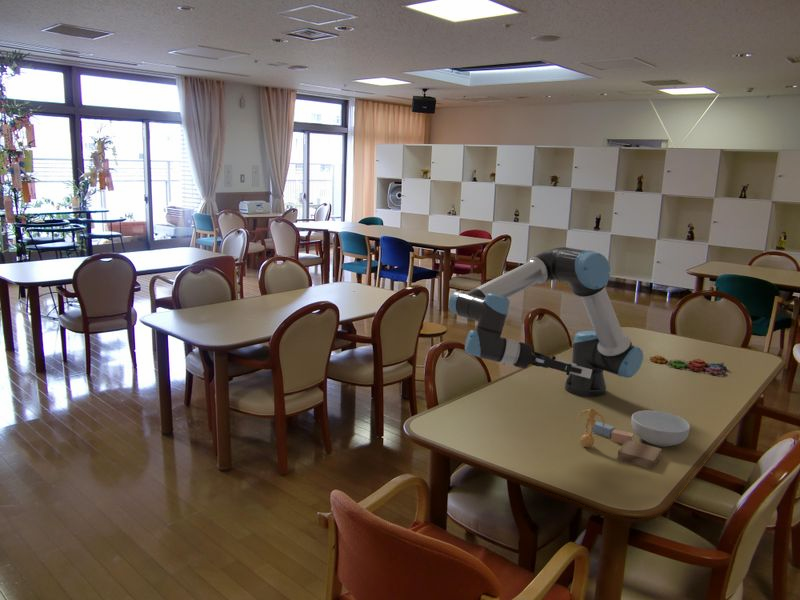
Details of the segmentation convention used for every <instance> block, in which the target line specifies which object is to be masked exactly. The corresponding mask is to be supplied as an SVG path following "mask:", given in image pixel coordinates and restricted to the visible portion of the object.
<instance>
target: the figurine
mask: <svg viewBox="0 0 800 600" xmlns="http://www.w3.org/2000/svg"><path fill="white" fill-rule="evenodd" d="M583 413H588V417H587V418H586V421H585V429H586V430H585V433H584V434H583V435H581V437H580V443H581V445H582V446H583V447H585V448H590V447H592V446H594V444H595V438H594V436H593V432H592V431H593V427H594V425H595V422H596V419H595V417H596V415H598V416H600V417H601V421H602V422H601V423H603V424H602V425H604V424H605V420H604V415H602V414H601V413H599V411H598V410H597V409H596V408H594V407H590V408H589V409H585V410H582V411H581V412H580V413H579V415H578V416H577V418H576V422H577V421H578V420H579V419H580V417H581V416H582V415H583ZM589 425H591V426H590V432H588V430H589ZM603 427H604V426H603Z"/></svg>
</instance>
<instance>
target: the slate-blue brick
mask: <svg viewBox="0 0 800 600" xmlns="http://www.w3.org/2000/svg"><path fill="white" fill-rule="evenodd" d="M602 424H603V422H600V421H595V425H594V427H593V431H592V433H595V434H597V435H600V436H604V437H606V438H609V439H611V436H612V431H613V429H615V426H613V425H610V424H607V423H604V425H602ZM603 426H604V427H603Z"/></svg>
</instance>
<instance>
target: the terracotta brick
mask: <svg viewBox="0 0 800 600" xmlns="http://www.w3.org/2000/svg"><path fill="white" fill-rule="evenodd" d="M634 433H635V432H634ZM634 433H633V432H629V431H625V430H621V429H619V430H618V429H615V428H614V429H613V431H612V436H611V437H610V442H614V443H620V444H623V445H624V443H625V442H626V441H627V440H630V441H634Z"/></svg>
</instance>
